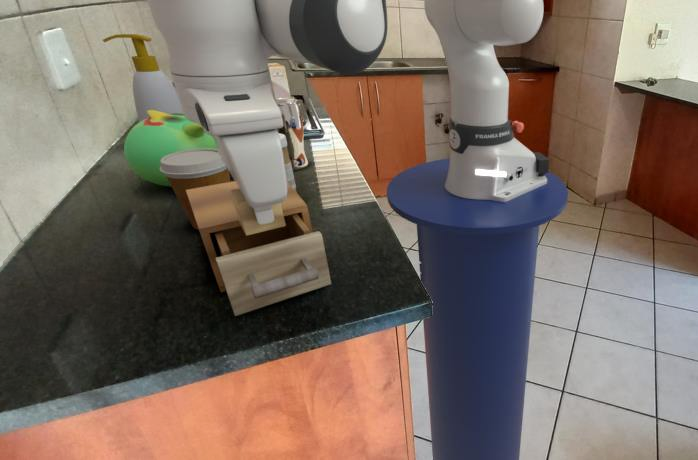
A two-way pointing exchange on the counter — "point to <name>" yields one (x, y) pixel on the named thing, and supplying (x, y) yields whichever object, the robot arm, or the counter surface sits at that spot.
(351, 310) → the counter surface
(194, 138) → the toy bird
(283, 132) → the beer glass
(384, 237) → the counter surface
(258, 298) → the drawer
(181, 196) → the disposable coffee cup
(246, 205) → the block
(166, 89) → the soap bottle
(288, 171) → the sprinkles bottle
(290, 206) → the cabinet
